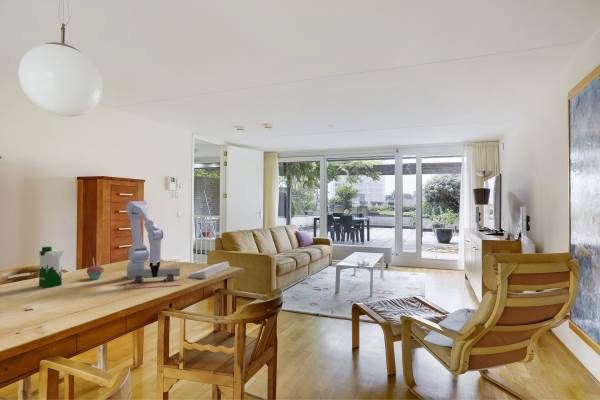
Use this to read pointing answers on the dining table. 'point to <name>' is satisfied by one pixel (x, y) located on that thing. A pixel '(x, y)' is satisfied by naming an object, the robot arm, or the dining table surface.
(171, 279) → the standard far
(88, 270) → the cupcake
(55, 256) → the milk carton
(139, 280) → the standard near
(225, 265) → the decorative molding
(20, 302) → the dining table surface
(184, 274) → the dining table surface
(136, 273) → the rail
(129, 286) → the mat
